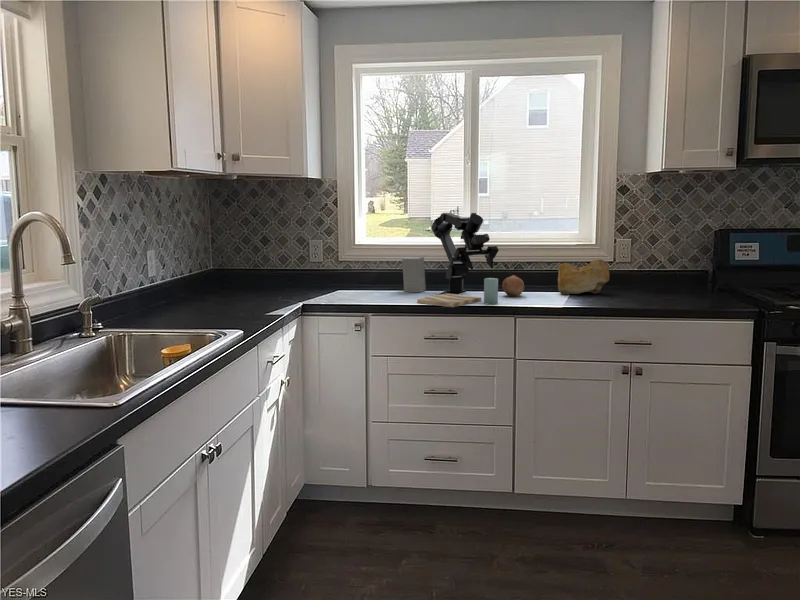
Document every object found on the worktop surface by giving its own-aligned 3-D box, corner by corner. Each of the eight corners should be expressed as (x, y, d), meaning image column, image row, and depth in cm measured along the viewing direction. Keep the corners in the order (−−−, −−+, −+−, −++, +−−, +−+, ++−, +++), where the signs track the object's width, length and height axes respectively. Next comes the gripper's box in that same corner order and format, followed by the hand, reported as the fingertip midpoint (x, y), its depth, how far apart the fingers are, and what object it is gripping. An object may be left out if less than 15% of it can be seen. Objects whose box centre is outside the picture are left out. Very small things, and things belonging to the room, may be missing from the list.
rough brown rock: (597, 291, 309) (596, 258, 307) (613, 293, 292) (612, 259, 291) (548, 294, 306) (547, 261, 305) (562, 296, 289) (561, 262, 288)
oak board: (446, 296, 290) (446, 293, 289) (481, 300, 278) (481, 297, 278) (417, 302, 275) (417, 299, 274) (452, 307, 263) (452, 303, 263)
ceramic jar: (488, 301, 276) (489, 277, 275) (500, 302, 273) (500, 278, 271) (481, 303, 272) (481, 278, 271) (492, 304, 269) (493, 280, 267)
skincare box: (425, 291, 306) (425, 256, 304) (417, 293, 300) (417, 258, 298) (410, 289, 311) (410, 256, 308) (402, 291, 305) (401, 257, 302)
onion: (512, 301, 295) (515, 280, 298) (527, 298, 287) (530, 276, 290) (496, 295, 290) (499, 273, 293) (510, 291, 283) (513, 269, 285)
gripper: (456, 228, 277) (468, 256, 268) (496, 226, 283) (509, 255, 274) (449, 245, 285) (459, 274, 277) (488, 244, 292) (499, 272, 283)
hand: (482, 268), depth 278 cm, fingers open, 9 cm apart
